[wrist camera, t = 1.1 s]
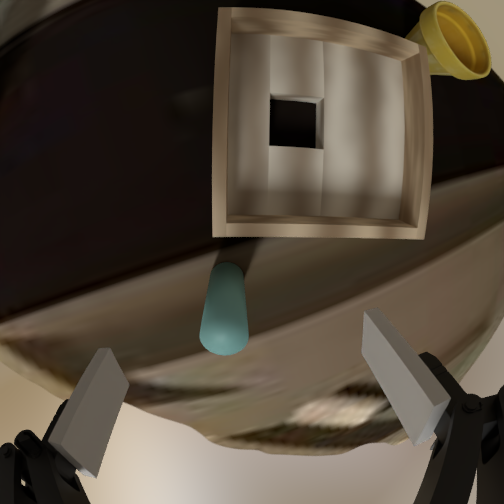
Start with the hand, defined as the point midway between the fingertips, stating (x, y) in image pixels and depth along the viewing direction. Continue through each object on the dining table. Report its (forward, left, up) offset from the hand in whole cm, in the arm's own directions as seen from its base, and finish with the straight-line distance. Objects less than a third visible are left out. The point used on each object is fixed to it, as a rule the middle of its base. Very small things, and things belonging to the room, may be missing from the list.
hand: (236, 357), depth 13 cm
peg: (-1, -5, -20) cm, 21 cm away
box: (+9, +13, -20) cm, 26 cm away
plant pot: (+25, +27, -20) cm, 42 cm away
